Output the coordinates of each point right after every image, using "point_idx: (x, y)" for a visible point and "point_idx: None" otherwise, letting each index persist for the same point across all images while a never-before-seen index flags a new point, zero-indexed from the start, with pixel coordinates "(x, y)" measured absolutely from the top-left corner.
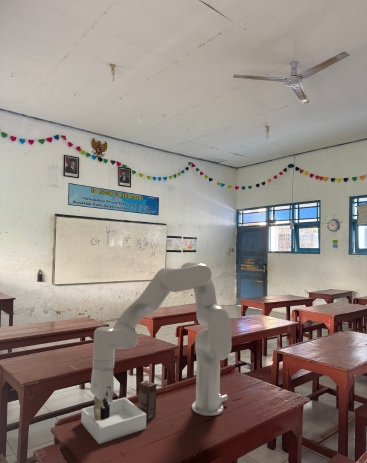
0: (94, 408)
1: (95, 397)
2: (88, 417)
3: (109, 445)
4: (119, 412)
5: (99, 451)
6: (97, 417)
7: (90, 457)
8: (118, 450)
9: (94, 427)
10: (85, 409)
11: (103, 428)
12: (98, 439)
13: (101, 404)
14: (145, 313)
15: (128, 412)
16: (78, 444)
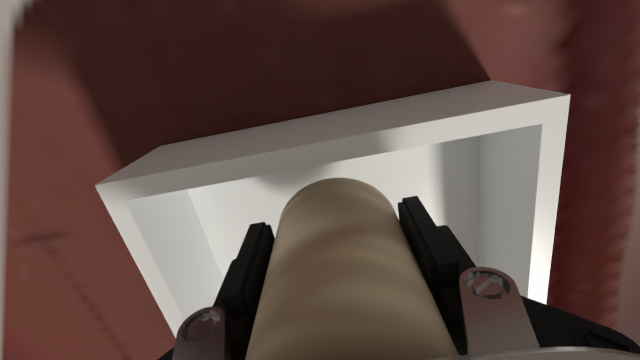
0: (415, 217)
1: (386, 337)
2: (359, 131)
3: None
4: None
5: (82, 132)
6: (293, 205)
7: (19, 66)
8: (80, 227)
9: (218, 151)
10: (538, 131)
11: (116, 212)
12: (161, 150)
13: (252, 330)
14: None
15: None
16: (192, 10)
